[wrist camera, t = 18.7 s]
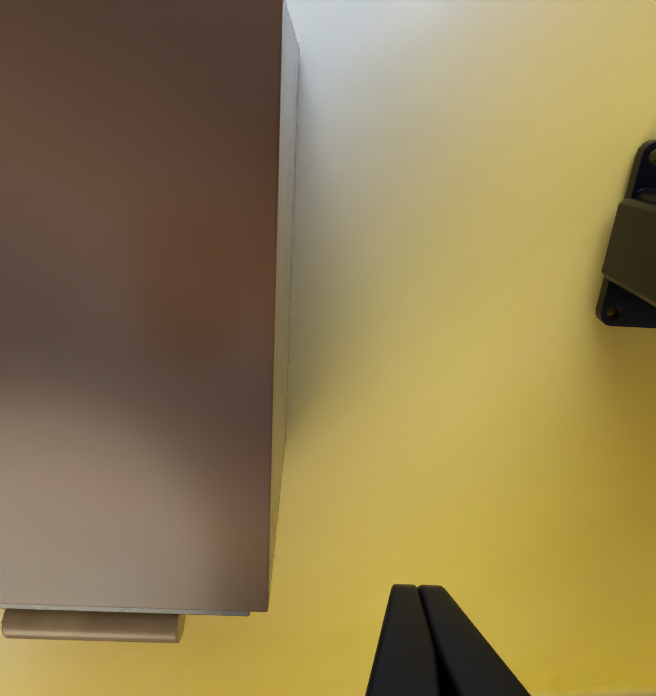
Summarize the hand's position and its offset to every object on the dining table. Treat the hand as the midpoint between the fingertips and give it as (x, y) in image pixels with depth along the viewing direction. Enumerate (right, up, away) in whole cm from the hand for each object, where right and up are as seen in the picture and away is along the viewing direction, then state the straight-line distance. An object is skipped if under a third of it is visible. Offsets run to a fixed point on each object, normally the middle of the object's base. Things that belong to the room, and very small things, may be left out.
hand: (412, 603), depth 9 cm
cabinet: (-9, +7, +11) cm, 16 cm away
